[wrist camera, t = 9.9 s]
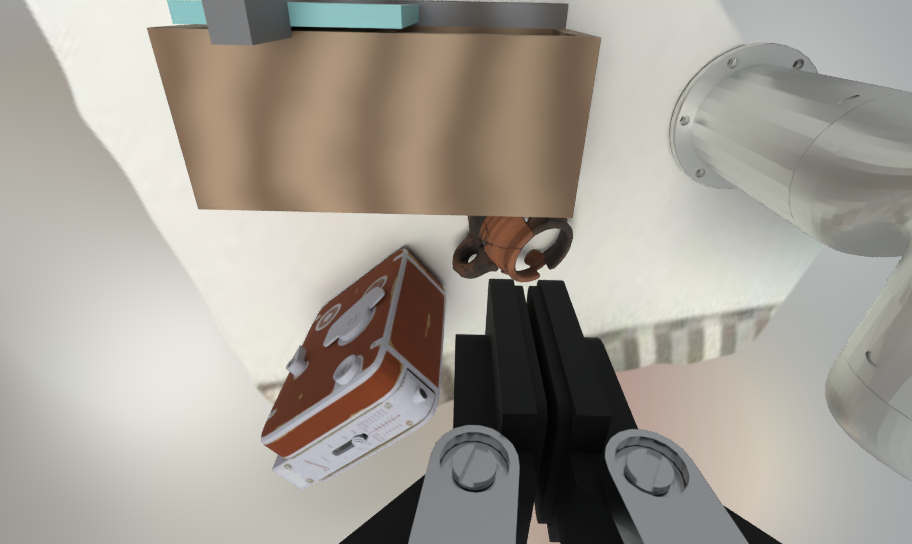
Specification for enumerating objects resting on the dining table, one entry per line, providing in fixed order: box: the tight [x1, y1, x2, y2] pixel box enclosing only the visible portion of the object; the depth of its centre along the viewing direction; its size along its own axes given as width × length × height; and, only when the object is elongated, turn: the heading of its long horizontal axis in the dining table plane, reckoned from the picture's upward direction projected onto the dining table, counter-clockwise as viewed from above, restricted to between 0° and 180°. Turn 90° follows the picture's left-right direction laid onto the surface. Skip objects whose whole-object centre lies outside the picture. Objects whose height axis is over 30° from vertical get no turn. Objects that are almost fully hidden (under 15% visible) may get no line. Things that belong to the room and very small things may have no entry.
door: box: [167, 0, 419, 45], centre depth 30 cm, size 14×2×18 cm, turn 89°
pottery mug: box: [452, 215, 573, 282], centre depth 46 cm, size 12×10×8 cm
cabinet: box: [147, 0, 601, 218], centre depth 36 cm, size 28×14×12 cm, turn 89°
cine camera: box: [261, 248, 446, 490], centre depth 45 cm, size 9×19×20 cm, turn 129°
